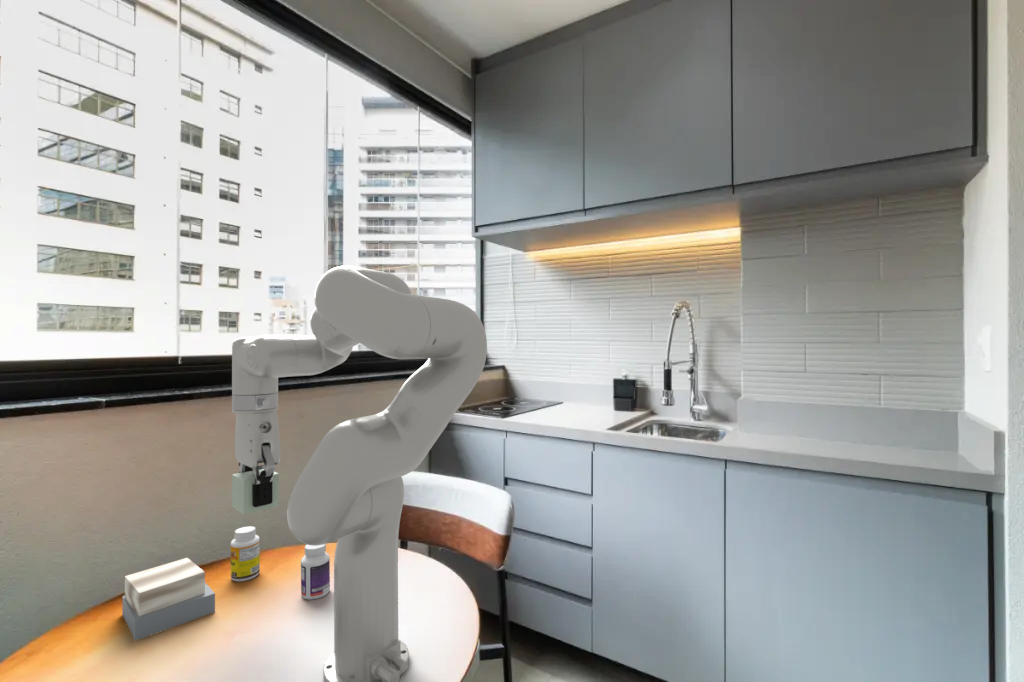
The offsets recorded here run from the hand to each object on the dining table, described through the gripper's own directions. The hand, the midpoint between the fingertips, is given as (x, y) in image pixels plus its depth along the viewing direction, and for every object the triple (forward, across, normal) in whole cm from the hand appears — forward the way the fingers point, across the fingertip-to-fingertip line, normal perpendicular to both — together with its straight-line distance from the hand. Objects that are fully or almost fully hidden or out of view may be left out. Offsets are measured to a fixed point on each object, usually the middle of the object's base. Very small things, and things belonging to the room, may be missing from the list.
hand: (255, 500), depth 88 cm
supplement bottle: (+22, +19, -4) cm, 29 cm away
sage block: (+1, 0, 0) cm, 1 cm away
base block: (+22, +14, +10) cm, 28 cm away
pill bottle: (+22, 0, -11) cm, 25 cm away
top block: (+18, +14, +11) cm, 26 cm away
